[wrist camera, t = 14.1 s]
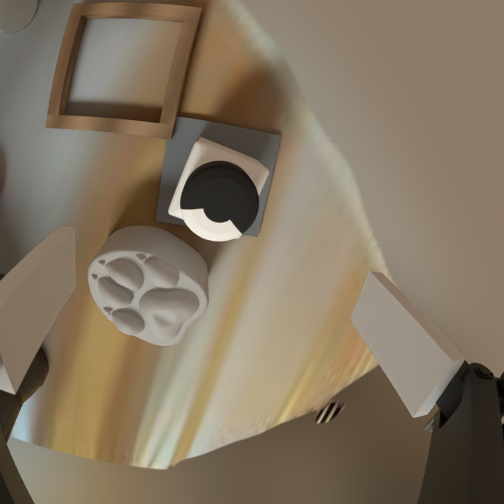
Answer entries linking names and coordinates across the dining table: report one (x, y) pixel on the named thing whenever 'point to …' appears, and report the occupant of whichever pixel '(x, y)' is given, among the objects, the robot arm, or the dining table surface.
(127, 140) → the dining table surface
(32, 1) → the beer glass
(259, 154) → the mat
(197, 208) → the medicine bottle
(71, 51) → the pocket
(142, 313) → the lumpy-topped squat cylinder
